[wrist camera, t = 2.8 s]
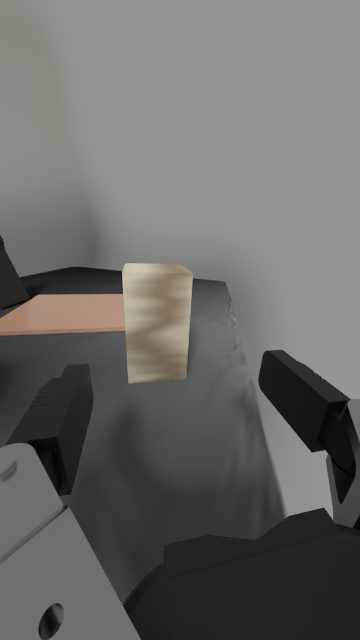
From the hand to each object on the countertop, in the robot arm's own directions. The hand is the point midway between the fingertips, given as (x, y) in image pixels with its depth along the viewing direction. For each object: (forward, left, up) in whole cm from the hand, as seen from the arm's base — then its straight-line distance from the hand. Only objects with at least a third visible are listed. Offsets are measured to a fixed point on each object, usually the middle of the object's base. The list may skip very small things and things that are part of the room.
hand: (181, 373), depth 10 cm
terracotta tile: (-12, +29, -7) cm, 32 cm away
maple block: (0, +11, -7) cm, 13 cm away
